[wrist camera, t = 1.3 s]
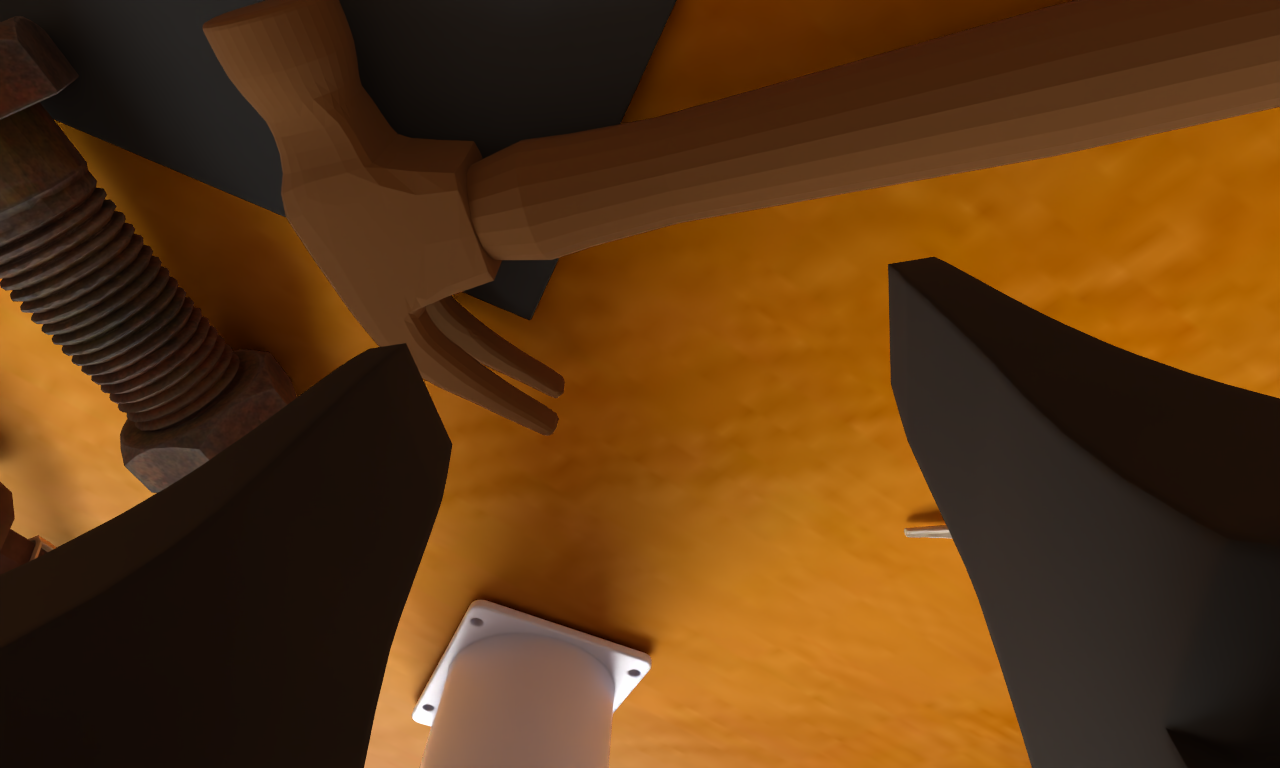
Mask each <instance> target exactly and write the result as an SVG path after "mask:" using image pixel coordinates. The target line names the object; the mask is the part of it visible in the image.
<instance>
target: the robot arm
mask: <svg viewBox="0 0 1280 768" xmlns="http://www.w3.org/2000/svg"><path fill="white" fill-rule="evenodd" d="M888 276H889V320H890V364H891V386H892V389H893V393H894V396H895V400H896V403H897V407H898V410H899V414H900V417H901V420H902V424H903V427H904V430H905V433H906V437H907V440H908V442H909V444H910V447H911V449H912V451H913V454H914V456H915V458H916V460H917V462H918V465H919V467H920V469H921V471H922V473H923V476H924V478H925V480H926V482H927V484H928V487H929V489H930V491H931V493H932V495H933V497H934V499H935V502H936V504H937V506H938V508H939V510H940V512H941V515H942V517H943V519H944V521H945V523H946V525H947V528H948V530H949V532H950V534H951V536H952V538H953V541H954V543H955V545H956V547H957V549H958V551H959V554H960V556H961V558H962V560H963V562H964V564H965V567H966V569H967V572H968V574H969V577H970V579H971V581H972V584H973V586H974V589H975V591H976V594H977V597H978V599H979V602H980V605H981V608H982V611H983V614H984V617H985V620H986V623H987V626H988V629H989V632H990V635H991V639H992V642H993V645H994V648H995V651H996V654H997V657H998V660H999V663H1000V666H1001V669H1002V672H1003V675H1004V678H1005V682H1006V685H1007V688H1008V691H1009V694H1010V698H1011V701H1012V704H1013V707H1014V710H1015V713H1016V717H1017V720H1018V723H1019V726H1020V729H1021V732H1022V736H1023V739H1024V742H1025V746H1026V749H1027V753H1028V756H1029V759H1030V763H1031V766H1032V768H1280V399H1279V398H1275V397H1272V396H1268V395H1264V394H1260V393H1257V392H1253V391H1249V390H1246V389H1242V388H1238V387H1234V386H1231V385H1227V384H1224V383H1220V382H1217V381H1214V380H1210V379H1207V378H1204V377H1201V376H1197V375H1194V374H1191V373H1188V372H1185V371H1182V370H1179V369H1176V368H1174V367H1171V366H1168V365H1165V364H1162V363H1159V362H1156V361H1154V360H1151V359H1148V358H1145V357H1142V356H1139V355H1136V354H1134V353H1131V352H1129V351H1126V350H1123V349H1121V348H1118V347H1116V346H1113V345H1111V344H1108V343H1106V342H1104V341H1101V340H1099V339H1097V338H1095V337H1092V336H1090V335H1088V334H1085V333H1083V332H1081V331H1079V330H1076V329H1074V328H1072V327H1070V326H1067V325H1065V324H1063V323H1061V322H1059V321H1057V320H1055V319H1053V318H1050V317H1048V316H1046V315H1044V314H1042V313H1040V312H1038V311H1036V310H1034V309H1032V308H1030V307H1028V306H1026V305H1024V304H1022V303H1021V302H1019V301H1017V300H1015V299H1013V298H1011V297H1009V296H1007V295H1005V294H1003V293H1002V292H1000V291H998V290H996V289H994V288H992V287H991V286H989V285H987V284H985V283H983V282H981V281H980V280H978V279H976V278H974V277H972V276H971V275H969V274H967V273H965V272H963V271H961V270H960V269H958V268H956V267H954V266H952V265H950V264H948V263H946V262H944V261H942V260H940V259H938V258H936V257H930V258H924V259H918V260H911V261H905V262H899V263H893V264H888ZM451 450H452V442H451V440H450V438H449V436H448V434H447V432H446V429H445V427H444V425H443V423H442V421H441V418H440V416H439V414H438V412H437V410H436V407H435V405H434V403H433V401H432V399H431V396H430V394H429V392H428V390H427V388H426V386H425V383H424V381H423V379H422V377H421V375H420V372H419V370H418V368H417V366H416V364H415V361H414V359H413V357H412V355H411V353H410V350H409V348H408V346H407V344H406V343H402V344H396V345H390V346H384V347H378V348H371V349H368V350H367V351H365V352H363V353H361V354H359V355H357V356H356V357H354V358H352V359H351V360H349V361H348V362H346V363H345V364H343V365H342V366H340V367H339V368H337V369H336V370H334V371H333V372H332V373H330V374H329V375H327V376H326V377H325V378H323V379H322V380H320V381H319V382H318V383H316V384H315V385H314V386H312V387H311V388H309V389H308V390H307V391H305V392H304V393H303V394H301V395H300V396H299V397H297V398H296V399H295V400H293V401H292V402H290V403H289V404H288V405H286V406H285V407H284V408H282V409H281V410H280V411H278V412H277V413H276V414H274V415H273V416H271V417H270V418H269V419H267V420H266V421H265V422H263V423H262V424H261V425H259V426H258V427H256V428H255V429H253V430H252V431H250V432H249V433H248V434H246V435H245V436H243V437H242V438H240V439H239V440H238V441H236V442H235V443H233V444H232V445H230V446H229V447H227V448H226V449H225V450H223V451H222V452H220V453H219V454H217V455H216V456H214V457H213V458H212V459H210V460H209V461H207V462H206V463H204V464H203V465H201V466H200V467H198V468H197V469H195V470H194V471H192V472H191V473H189V474H188V475H186V476H184V477H183V478H181V479H180V480H178V481H176V482H175V483H173V484H172V485H170V486H168V487H167V488H165V489H163V490H162V491H160V492H158V493H157V494H155V495H153V496H152V497H150V498H148V499H146V500H145V501H143V502H141V503H140V504H138V505H136V506H135V507H133V508H131V509H129V510H128V511H126V512H124V513H122V514H121V515H119V516H117V517H115V518H113V519H111V520H109V521H108V522H106V523H104V524H102V525H100V526H98V527H96V528H94V529H92V530H90V531H88V532H86V533H84V534H82V535H80V536H78V537H77V538H75V539H73V540H71V541H69V542H67V543H65V544H63V545H61V546H59V547H57V548H55V549H53V550H51V551H49V552H47V553H46V554H44V555H42V556H40V557H38V558H36V559H33V560H31V561H29V562H27V563H25V564H23V565H21V566H18V567H16V568H14V569H12V570H10V571H8V572H5V573H3V574H1V575H0V768H364V765H365V760H366V755H367V750H368V745H369V740H370V735H371V730H372V725H373V720H374V715H375V711H376V706H377V702H378V698H379V694H380V690H381V685H382V681H383V677H384V673H385V669H386V664H387V660H388V656H389V652H390V648H391V645H392V642H393V639H394V636H395V632H396V629H397V626H398V623H399V620H400V617H401V614H402V612H403V609H404V606H405V603H406V600H407V598H408V595H409V592H410V589H411V587H412V584H413V581H414V578H415V576H416V573H417V570H418V567H419V564H420V562H421V559H422V556H423V553H424V551H425V548H426V545H427V542H428V539H429V537H430V534H431V531H432V528H433V525H434V522H435V519H436V516H437V514H438V511H439V508H440V504H441V501H442V498H443V493H444V488H445V484H446V479H447V474H448V468H449V462H450V456H451ZM651 661H652V660H651V657H650V656H649V655H648V654H646V653H644V652H641V651H638V650H635V649H632V648H629V647H626V646H623V645H619V644H616V643H613V642H610V641H607V640H604V639H601V638H598V637H595V636H592V635H589V634H586V633H583V632H580V631H577V630H574V629H571V628H568V627H565V626H562V625H559V624H556V623H553V622H550V621H547V620H544V619H541V618H538V617H535V616H532V615H529V614H526V613H523V612H520V611H517V610H514V609H511V608H508V607H505V606H502V605H499V604H496V603H493V602H490V601H487V600H476V601H473V602H472V603H471V604H470V606H469V608H468V610H467V612H466V614H465V616H464V617H463V619H462V621H461V623H460V625H459V627H458V628H457V630H456V632H455V634H454V636H453V638H452V639H451V641H450V643H449V645H448V647H447V649H446V650H445V652H444V654H443V656H442V658H441V660H440V661H439V663H438V665H437V667H436V669H435V671H434V672H433V674H432V676H431V678H430V680H429V682H428V683H427V685H426V687H425V689H424V691H423V693H422V695H421V696H420V698H419V700H418V702H417V704H416V706H415V707H414V710H413V713H412V718H413V719H414V720H415V721H416V722H418V723H421V724H425V725H428V726H431V730H430V733H429V737H428V740H427V743H426V747H425V750H424V754H423V757H422V761H421V764H420V768H608V766H609V754H610V742H611V729H612V717H613V713H614V711H615V710H616V709H617V708H618V707H619V706H620V704H621V703H622V702H623V701H624V700H625V698H626V697H627V696H628V695H629V694H630V692H631V691H632V690H633V689H634V688H635V687H636V685H637V684H638V683H639V682H640V681H641V679H642V678H643V677H644V676H645V675H646V674H647V672H648V671H649V670H650V668H651Z"/></svg>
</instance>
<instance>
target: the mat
mask: <svg viewBox="0 0 1280 768" xmlns="http://www.w3.org/2000/svg"><path fill="white" fill-rule="evenodd" d="M262 1H266V0H0V22H3V21H5V20H8V19H10V18H13V17H15V16H23V17H25V18H27V19H29V20H31V21H33V22H34V23H35V24H37V25H38V26H40V27H41V28H42V29H44V30H45V31H46V33H47V34H48V35H49V37H50V38H51V39H52V41H53V42H54V43H55V45H56V46H57V47H58V49H59V50H60V51H61V52H62V54H63V55H64V56H65V58H66V59H67V60H68V62H69V63H70V64H71V66H72V67H73V68H74V70H75V71H76V72H77V74H78V75H79V77H78V78H77V79H76V80H75V81H73V82H72V83H71V84H70V85H68V86H67V87H66V88H64V89H63V90H62V91H61V92H59V93H58V94H56V95H54V96H52V97H50V98H47V99H45V100H43V101H41V102H40V103H41V104H42V106H43V107H44V108H45V109H46V111H47V112H48V113H49V115H50V116H51V117H52V118H53V119H54V120H57V121H59V122H61V123H64V124H66V125H68V126H71V127H73V128H76V129H78V130H80V131H83V132H85V133H87V134H90V135H92V136H95V137H97V138H99V139H102V140H104V141H106V142H109V143H111V144H113V145H116V146H118V147H121V148H123V149H125V150H128V151H130V152H132V153H135V154H137V155H139V156H142V157H144V158H147V159H149V160H151V161H154V162H156V163H158V164H161V165H163V166H166V167H168V168H170V169H173V170H175V171H177V172H180V173H182V174H184V175H187V176H189V177H192V178H194V179H196V180H199V181H201V182H203V183H206V184H208V185H211V186H213V187H215V188H218V189H220V190H222V191H225V192H227V193H229V194H232V195H234V196H237V197H239V198H241V199H244V200H246V201H248V202H251V203H253V204H255V205H258V206H260V207H263V208H265V209H267V210H270V211H272V212H274V213H277V214H279V215H282V216H284V217H286V215H285V210H284V205H283V201H282V196H281V187H282V176H283V172H282V165H281V159H280V153H279V150H278V147H277V144H276V141H275V138H274V136H273V134H272V132H271V130H270V128H269V126H268V124H267V123H266V121H265V120H264V119H263V118H262V117H261V115H260V114H259V113H258V112H257V111H256V110H255V108H254V107H253V106H252V105H251V104H250V103H249V102H248V101H247V100H246V99H245V97H244V96H243V95H242V94H241V93H240V91H239V90H238V89H237V88H236V86H235V85H234V84H233V83H232V81H231V80H230V79H229V77H228V76H227V74H226V72H225V71H224V69H223V67H222V66H221V64H220V62H219V60H218V59H217V57H216V55H215V53H214V51H213V49H212V47H211V45H210V43H209V41H208V39H207V37H206V35H205V33H204V31H203V28H202V27H203V24H204V23H205V22H207V21H209V20H211V19H212V18H214V17H216V16H219V15H221V14H224V13H227V12H230V11H233V10H236V9H239V8H242V7H245V6H249V5H252V4H255V3H259V2H262ZM339 1H340V4H341V6H342V9H343V11H344V14H345V16H346V19H347V21H348V24H349V27H350V30H351V33H352V36H353V39H354V44H355V50H356V55H357V62H358V71H359V77H360V81H361V84H362V87H363V88H364V89H365V91H366V92H367V93H368V94H369V96H370V97H371V98H372V100H373V101H374V103H375V104H376V106H377V107H378V109H379V110H380V112H381V113H382V115H383V116H384V118H385V119H386V121H387V122H388V123H389V125H390V126H391V127H392V129H393V130H394V131H395V132H396V133H397V134H400V135H403V136H406V137H410V138H419V139H434V140H459V141H474V142H475V144H476V146H477V147H478V149H479V151H480V153H481V156H482V158H483V159H484V158H486V157H488V156H490V155H492V154H494V153H496V152H498V151H500V150H502V149H504V148H506V147H508V146H510V145H512V144H514V143H516V142H519V141H521V140H525V139H533V138H541V137H548V136H556V135H563V134H571V133H576V132H581V131H587V130H592V129H597V128H603V127H608V126H613V125H619V124H620V123H621V121H622V119H623V117H624V115H625V112H626V110H627V108H628V106H629V104H630V101H631V99H632V97H633V95H634V93H635V91H636V88H637V86H638V84H639V82H640V80H641V77H642V75H643V73H644V71H645V69H646V66H647V64H648V62H649V60H650V58H651V55H652V53H653V51H654V49H655V47H656V44H657V42H658V40H659V38H660V36H661V33H662V31H663V29H664V27H665V25H666V23H667V20H668V18H669V16H670V14H671V12H672V9H673V7H674V5H675V3H676V1H677V0H339ZM558 259H559V258H556V259H553V260H502V262H501V264H500V267H499V269H498V272H497V274H496V277H495V279H494V281H491V282H488V283H485V284H482V285H479V286H477V287H474V288H471V289H468V290H465V291H462V292H464V293H466V294H469V295H471V296H473V297H476V298H478V299H480V300H483V301H485V302H487V303H490V304H492V305H495V306H497V307H499V308H502V309H504V310H506V311H509V312H511V313H514V314H516V315H518V316H521V317H523V318H525V319H528V320H531V319H532V316H533V314H534V312H535V310H536V308H537V305H538V303H539V301H540V299H541V297H542V295H543V292H544V290H545V288H546V286H547V284H548V281H549V279H550V277H551V275H552V273H553V270H554V268H555V266H556V264H557V262H558Z"/></svg>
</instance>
